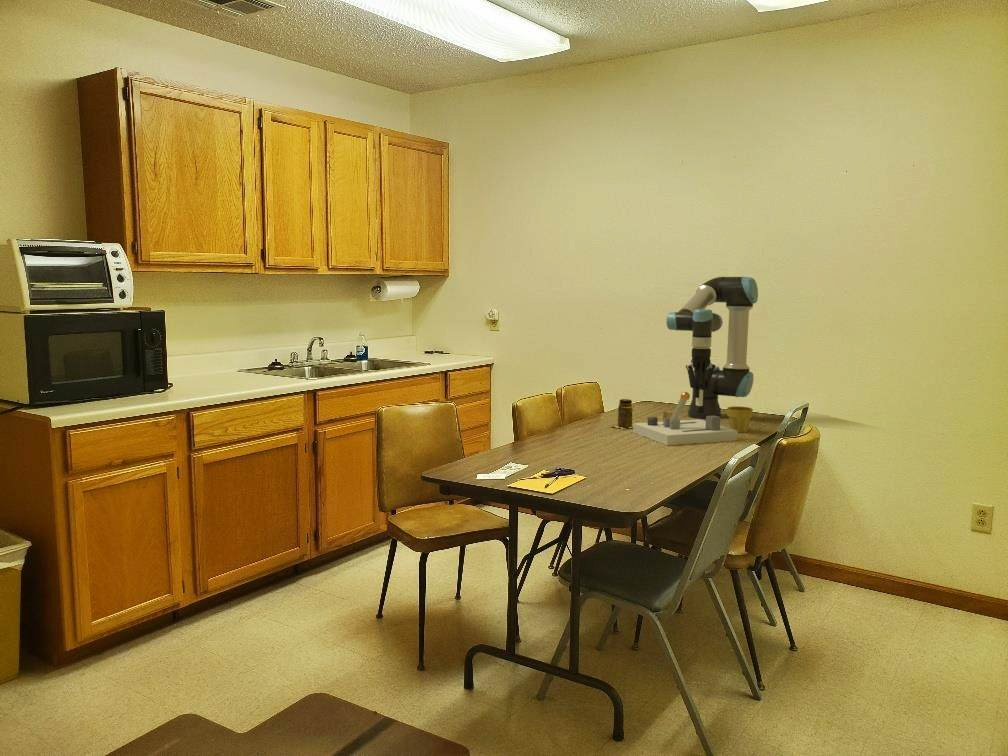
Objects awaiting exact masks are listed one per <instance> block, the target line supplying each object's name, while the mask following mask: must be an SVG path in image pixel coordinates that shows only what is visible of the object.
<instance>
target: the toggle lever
mask: <svg viewBox="0 0 1008 756" xmlns="http://www.w3.org/2000/svg"><path fill="white" fill-rule="evenodd" d="M690 397H691V396H690V393H689V392H688V391H684V392H681V394H680V398H679V400H678V403H677V405H675V406H676V407H675V408H674V410H673V411H674V412H673V414H672V416H671V418H670V420H679V418H680V416H681V414H682V411H683V410H684V407H685V406H686V404H687V401H689V400H690ZM669 423H670V421H669Z"/></svg>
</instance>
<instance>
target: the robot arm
mask: <svg viewBox="0 0 1008 756" xmlns="http://www.w3.org/2000/svg"><path fill="white" fill-rule="evenodd" d="M758 298H759V290H758V284H757V282H756V280H755V278H753V277H751V276H718V277H714V278H712V279H708V280H707V281H705V282H704V283H702V284H701V285H700V286H699V287H697V289H696V291H695V294H694V295H693V296H692V297H691V298H690V299H689V300H688V301H687V302H686V303H685V304H684V305H683V306H682V308H680V309H679V310H678V311H674V312H668V313H667V316H666V319H665V320H666V321H665V322H666V327H667V328H668V330H671V331H683V332H684V331H688V332H689V331H690V332H692V337H691V346H692V348H691V360H690V363H689V364H686V365H685V368H686V370H687V375H688V380H689V385H690V388H691V389H692V398H691V402H690V404H689V408H688V410H687V416H688V417H691V418H696V419H705V420H706V416H714V415H715V416H718V417H722V411H721V407H720V404H719V396H726V397H735V398H746V397H747V396H748V395H749V394H750V393H751V391H752V387H753V384H754V379H755V378H754V373H753V372H752V371H750V367H749V365H748V364H747V357H748V340H749V338H748V337H749V321H750V320H749V319H750V318H749V317H750V311H751V310H752V309H753V308H754V304H756V303H757V302H758V300H759V299H758ZM714 303H725V308H727V310H728V327H727V328H728V333H727V345H726V346H727V349H726V353H727V354H726V364H724V365H723V366H722V369H720V366H719V365H718V366H716V364H714V363H712V362H711V356H712V349H711V347H712V337H713V336H712V333H715V332H718V331H719V330H721V328H722V326H723V323H724V322H723V318H722V317H721V315H719V314H718V313H716V312H713V310H712V309H710V308H707V307H708V306H711V305H713V304H714ZM706 308H707V309H706Z"/></svg>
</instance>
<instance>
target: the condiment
mask: <svg viewBox="0 0 1008 756" xmlns="http://www.w3.org/2000/svg"><path fill="white" fill-rule="evenodd" d="M632 402H633V401H632V399H628V398H622V399H619V404H618V408H617V426H619V427H623V428H629V427H633V409H634V407H633V403H632Z"/></svg>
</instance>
